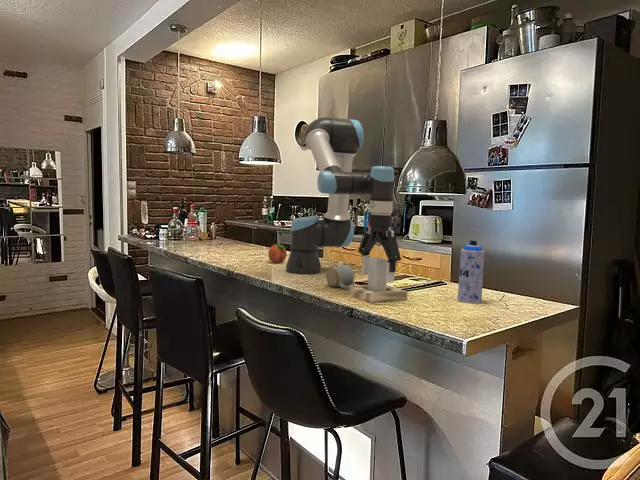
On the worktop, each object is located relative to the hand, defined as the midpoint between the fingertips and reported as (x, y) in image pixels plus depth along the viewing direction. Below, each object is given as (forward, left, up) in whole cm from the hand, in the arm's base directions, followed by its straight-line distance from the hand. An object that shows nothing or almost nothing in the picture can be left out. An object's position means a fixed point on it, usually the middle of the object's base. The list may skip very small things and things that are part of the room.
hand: (377, 278), depth 157 cm
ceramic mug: (-18, -2, -7) cm, 20 cm away
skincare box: (0, 0, -6) cm, 6 cm away
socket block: (0, 0, -6) cm, 6 cm away
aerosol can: (+16, +26, -6) cm, 31 cm away
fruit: (-78, -1, -7) cm, 78 cm away
